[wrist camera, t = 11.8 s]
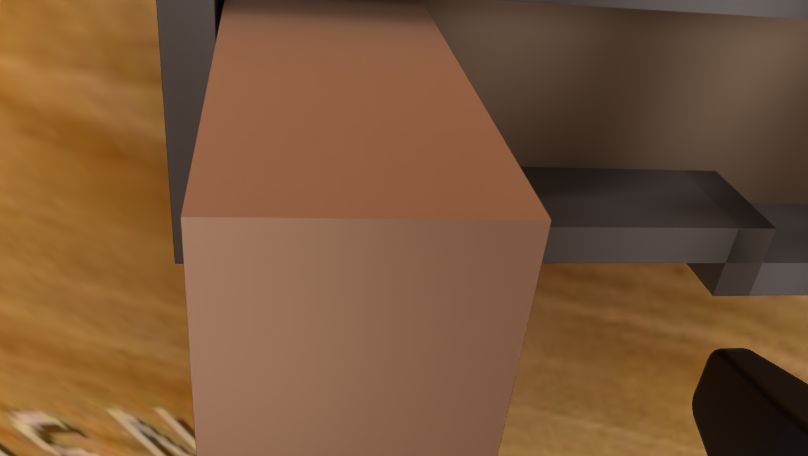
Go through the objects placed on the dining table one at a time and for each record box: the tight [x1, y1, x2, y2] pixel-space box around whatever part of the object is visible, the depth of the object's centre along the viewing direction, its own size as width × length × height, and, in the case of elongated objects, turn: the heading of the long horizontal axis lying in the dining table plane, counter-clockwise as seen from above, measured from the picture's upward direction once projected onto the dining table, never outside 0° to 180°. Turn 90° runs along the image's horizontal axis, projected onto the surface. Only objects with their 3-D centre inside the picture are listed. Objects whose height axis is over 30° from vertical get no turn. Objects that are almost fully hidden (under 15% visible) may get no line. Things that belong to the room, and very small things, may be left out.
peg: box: [181, 0, 551, 456], centre depth 13 cm, size 4×4×10 cm
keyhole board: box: [156, 0, 808, 296], centre depth 18 cm, size 22×10×4 cm, turn 84°
